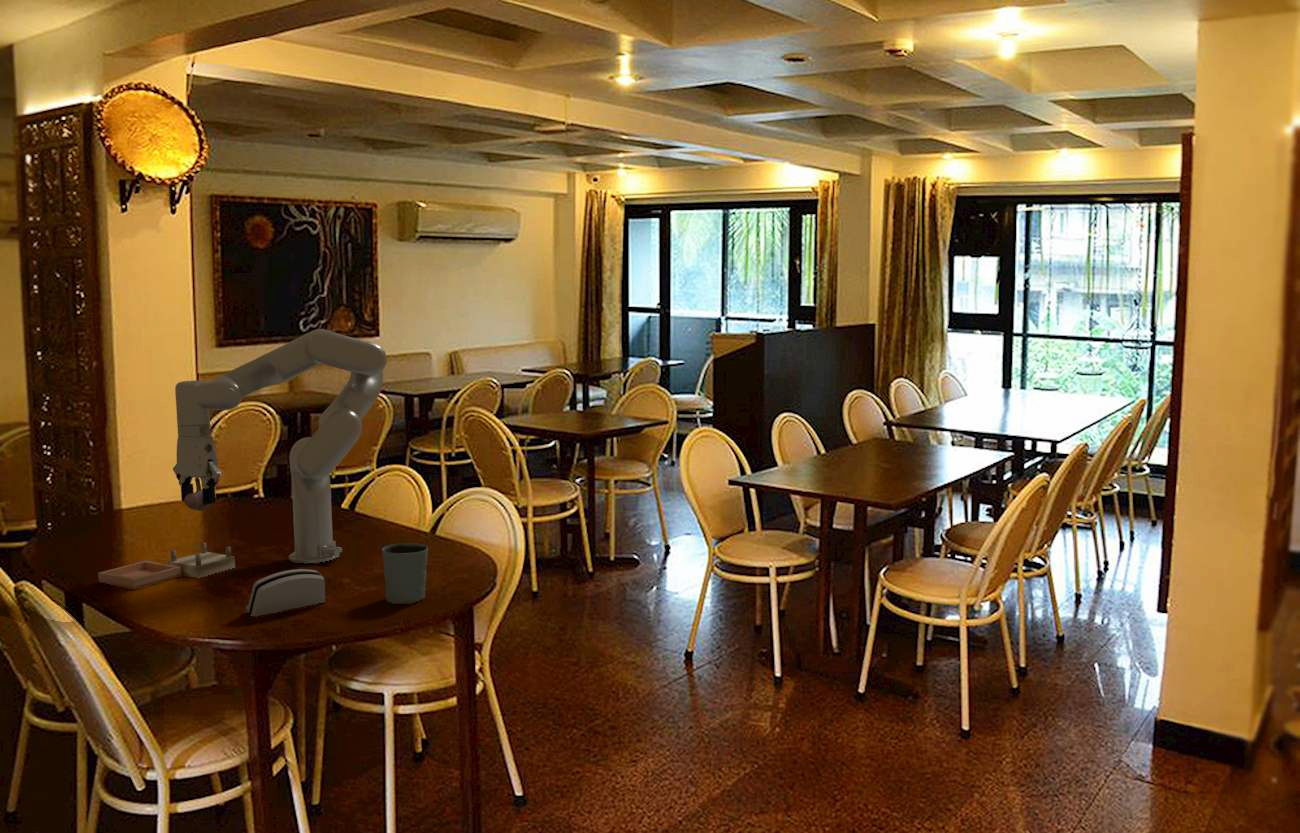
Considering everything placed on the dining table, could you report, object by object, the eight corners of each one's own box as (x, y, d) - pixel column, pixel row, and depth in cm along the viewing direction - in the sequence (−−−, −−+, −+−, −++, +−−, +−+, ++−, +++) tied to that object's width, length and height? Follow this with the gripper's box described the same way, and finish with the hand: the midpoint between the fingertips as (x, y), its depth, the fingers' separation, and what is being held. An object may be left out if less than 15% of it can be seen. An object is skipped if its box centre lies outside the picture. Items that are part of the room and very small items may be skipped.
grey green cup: (375, 599, 253) (373, 547, 251) (413, 590, 260) (412, 540, 258) (399, 608, 246) (397, 555, 244) (438, 599, 253) (436, 547, 251)
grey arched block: (316, 598, 254) (321, 560, 250) (325, 609, 251) (330, 571, 247) (243, 612, 243) (247, 573, 240) (252, 624, 240) (256, 585, 236)
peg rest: (235, 568, 280) (234, 546, 280) (198, 578, 271) (197, 556, 270) (205, 562, 286) (204, 541, 285) (168, 572, 276) (167, 551, 275)
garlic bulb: (203, 513, 272) (201, 480, 271) (176, 512, 273) (174, 479, 272) (221, 506, 279) (219, 475, 278) (194, 505, 281) (192, 474, 280)
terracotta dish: (181, 577, 272) (180, 567, 272) (134, 590, 261) (133, 579, 261) (146, 570, 278) (145, 560, 278) (98, 583, 267) (98, 572, 267)
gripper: (231, 431, 273) (235, 502, 275) (183, 427, 281) (187, 496, 283) (205, 435, 266) (210, 508, 269) (157, 430, 275) (162, 501, 277)
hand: (198, 501), depth 276 cm, fingers closed on garlic bulb, 7 cm apart
